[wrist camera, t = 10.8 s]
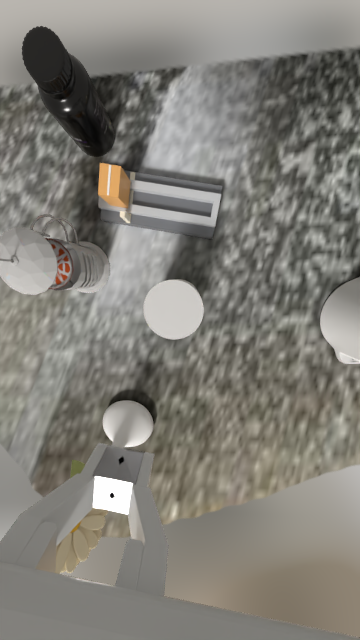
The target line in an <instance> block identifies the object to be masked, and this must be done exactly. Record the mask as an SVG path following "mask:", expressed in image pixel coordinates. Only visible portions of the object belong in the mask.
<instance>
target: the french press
mask: <svg viewBox="0 0 360 640" xmlns="http://www.w3.org/2000/svg"><path fill="white" fill-rule="evenodd" d="M43 217H51V218H54V219H51V220H50V221H49V222H48V223H46V225H45V227H44V229H43V233H40V232H37V231H34V230H33V226H34V224H35V222H36V221H38V220H39V219H40V218H43ZM54 220H57V221H58V222H59V223H60V224H61V225H62V226H63V227H64V230H65V233H66V239H67V242H66V241H63V240H59V239H51V238H49V239H47V238H44V237H43V236H47V237H50V235H47V234H45V230H46V228H47V226H48V225H49V224H50V223H51V222H52V221H54ZM60 220H63V221H65V222H66V223H68V224H69V225H70V226H71V227H72V228H73V231H74V233H75V238H76V243H73V242H70V241H69V240H68V235H67V231H66V229H65V226H64V225H63V224H62V222H61V221H60ZM42 235H43V236H42ZM0 276H1V278H2V279H3V280H4V281H5V282H6V283H7V284H8V285H9V286H10V287H11V288H12V289H14V290H16V291H18V292H20V293H23V294H32V295H36V294H39V293H41V292H44V291H46V290H47V289H53V290H71V289H76V290H78V291H80V292H83V293H93V292H96V291H98V290H100V289H101V288H102V287H103V286H104V285H105V284H106V283H107V281H108V278H109V276H110V264H109V261H108V259H107V256H106V254H105V253H104V252H103V251H102V250H101V249H100V248H99V246H97V245H95V244H93V243H91V242H81V241H79V242H78V239H77V234H76V231H75V229H74V227H73V226H72V224H71V223H70V222H68V221H67V220H65V219H63V218H56V217H54V216H52V215H48V214H44V215H40V216H38V217H37V218H36V219H35V220H34V221H33V223H32V224H31V226H30V229H29V228H20V227H14V228H12V229H10V230H7V231H5V232H4V233H3V234H2V235H1V237H0Z"/></svg>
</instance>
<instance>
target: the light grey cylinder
mask: <svg viewBox="0 0 360 640" xmlns="http://www.w3.org/2000/svg"><path fill="white" fill-rule="evenodd" d="M143 310H144V317H145V320H146V322H147V324H148V326H149V327H150V328H151V329H152V330H153V331H154V332H155V333H156V334H158V335H159V336H161V337H164V338H167V339H181V338H184V337H187V336H189V335H190V334H192V333H193V332H194V331H195V330H196V329H197V328H198V327H199V325H200V323H201V321H202V318H203V312H204V308H203V302H202V299H201V297H200V295H199V292H198V290H197V289H196V287H195V286H194V285H193V284H192V283H190V282H188V281H186V280H182V279H175V280H166V281H163V282H160V283H158V284H157V285H155V286H154V287H153V288H152V289H151V290H150V291H149V293H148V294H147V296H146V298H145V301H144V309H143Z"/></svg>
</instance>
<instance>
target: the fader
mask: <svg viewBox="0 0 360 640" xmlns="http://www.w3.org/2000/svg"><path fill="white" fill-rule="evenodd" d="M130 183H131V181H130V180H129V178H128V176H127V175H126V173H125V172H124V170H123V169H122V167H121V166H117V165H111V164H104V163H100V171H99V187H98V195H99V196H100V197H101V198H103V199H104V200H105V201H106V202H107V203H108V204H109V205H110V206H116V207H122V208H128V204H129V200H130Z"/></svg>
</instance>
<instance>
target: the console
mask: <svg viewBox="0 0 360 640" xmlns="http://www.w3.org/2000/svg"><path fill="white" fill-rule="evenodd" d="M124 172H125V173H126V175H127V176H128V178H129V180H130V181H131V183H130V200H129V204H128V208H122V207H116V206H110V205H109V204H108V203H107V202H106V201H105V200H104V199H103V198H101V197H100V196H99V203H98V207H99V208H101V217H100V219H101V220H103V221H105V222H111V223H117V224H123V225H129V226H135V227H141V228H147V229H153V230H159V231H165V232H171V233H177V234H183V235H189V236H195V237H201V238H207V239H212V238H213V233H214V228H215V224H216V219H217V214H218V209H219V204H220V199H221V191H222V186H220V185H213V184H207V183H201V182H195V181H188V180H182V179H176V178H170V177H163V176H157V175H151V174H145V173H138V172H132V171H126V170H124Z"/></svg>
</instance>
